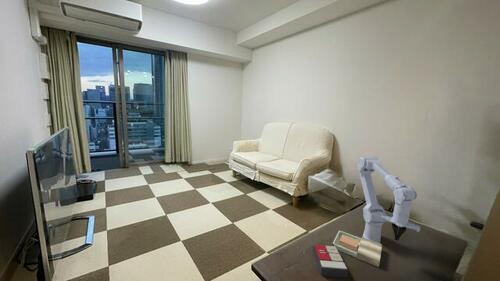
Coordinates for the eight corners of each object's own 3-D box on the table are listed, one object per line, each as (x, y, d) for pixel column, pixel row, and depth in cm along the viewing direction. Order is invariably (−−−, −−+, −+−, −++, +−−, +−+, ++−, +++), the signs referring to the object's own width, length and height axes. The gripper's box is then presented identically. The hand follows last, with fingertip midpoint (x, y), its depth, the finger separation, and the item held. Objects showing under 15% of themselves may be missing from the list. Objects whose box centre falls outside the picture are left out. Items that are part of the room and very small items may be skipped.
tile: (341, 238, 108) (342, 234, 108) (358, 245, 104) (359, 240, 103) (338, 244, 104) (339, 240, 103) (356, 251, 99) (357, 247, 99)
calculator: (336, 245, 99) (348, 268, 84) (335, 253, 99) (347, 278, 85) (313, 243, 100) (321, 266, 85) (312, 251, 100) (320, 275, 85)
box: (338, 233, 113) (339, 230, 113) (360, 242, 107) (361, 238, 106) (331, 247, 102) (332, 243, 102) (356, 257, 96) (356, 253, 95)
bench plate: (360, 242, 107) (361, 237, 106) (381, 249, 102) (382, 244, 101) (356, 257, 96) (357, 252, 95) (378, 267, 91) (379, 261, 90)
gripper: (382, 210, 94) (377, 237, 96) (422, 222, 86) (416, 250, 88) (383, 204, 100) (378, 230, 102) (421, 215, 91) (415, 242, 94)
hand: (396, 239), depth 95 cm, fingers closed
